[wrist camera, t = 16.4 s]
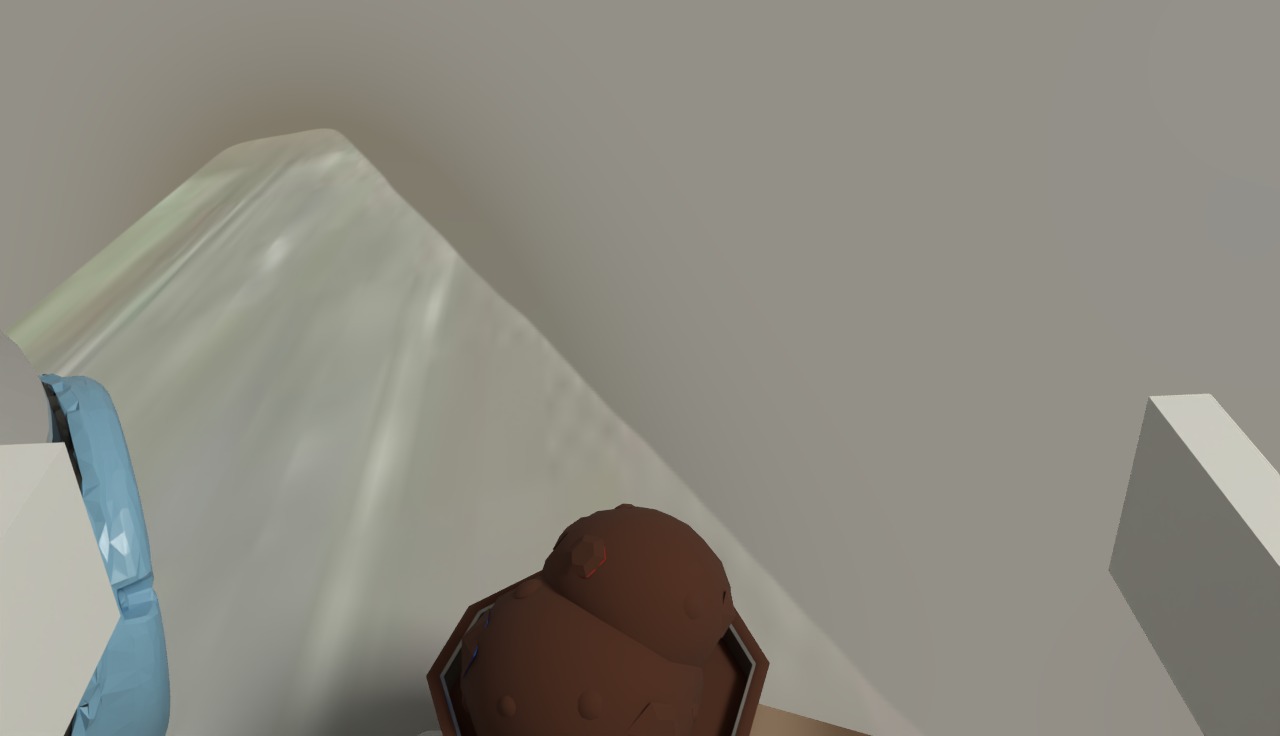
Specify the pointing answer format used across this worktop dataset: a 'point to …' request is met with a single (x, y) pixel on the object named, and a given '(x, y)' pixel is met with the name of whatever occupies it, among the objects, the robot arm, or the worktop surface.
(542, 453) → the worktop surface
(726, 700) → the ice cream bowl
